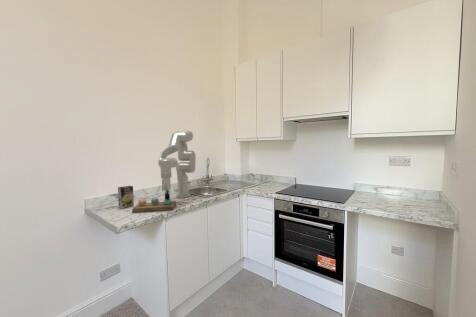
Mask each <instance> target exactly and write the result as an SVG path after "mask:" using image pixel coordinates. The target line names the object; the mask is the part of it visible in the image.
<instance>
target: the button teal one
mask: <svg viewBox="0 0 476 317" xmlns="http://www.w3.org/2000/svg"><path fill="white" fill-rule="evenodd" d="M163 202H164V205H169V204H171V202H172V199H171V198H170V199H169V200H165V199H164V200H163Z"/></svg>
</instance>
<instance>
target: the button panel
mask: <svg viewBox="0 0 476 317" xmlns="http://www.w3.org/2000/svg"><path fill="white" fill-rule="evenodd" d="M176 202H177V201H176V200H175V201H173V200H171V204H169V205H164V201H162V202H161V201H160V202H159V203H157V204H151V202H146V204H143V205H139V203H137V204H136V205H134V206H133V208H132V209H131V212H132V214H140V213H141V214H142V213H143V214H144V213H154V212H169V211H172V212H173V211H174V209H175V208H176V206H177V203H176Z"/></svg>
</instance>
